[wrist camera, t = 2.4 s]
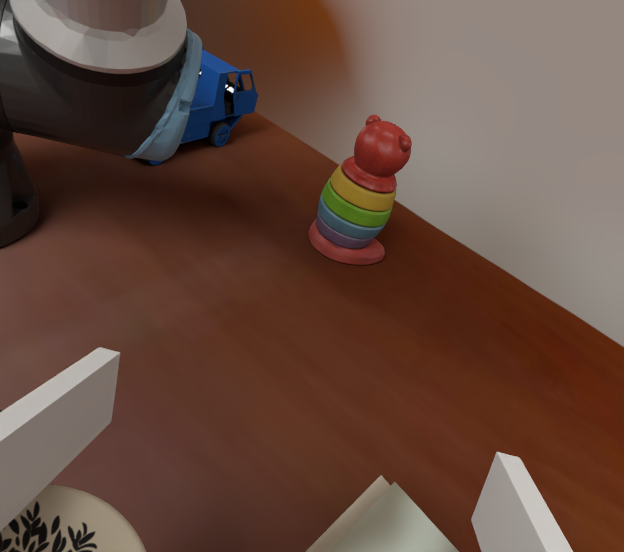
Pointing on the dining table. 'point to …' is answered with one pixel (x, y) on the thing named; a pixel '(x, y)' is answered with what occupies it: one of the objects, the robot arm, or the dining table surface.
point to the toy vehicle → (216, 102)
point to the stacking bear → (361, 195)
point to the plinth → (383, 525)
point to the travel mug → (69, 525)
